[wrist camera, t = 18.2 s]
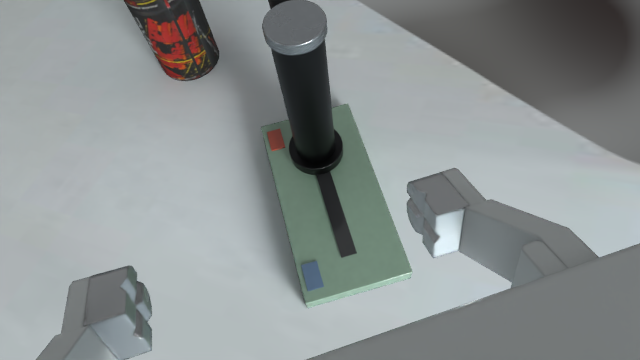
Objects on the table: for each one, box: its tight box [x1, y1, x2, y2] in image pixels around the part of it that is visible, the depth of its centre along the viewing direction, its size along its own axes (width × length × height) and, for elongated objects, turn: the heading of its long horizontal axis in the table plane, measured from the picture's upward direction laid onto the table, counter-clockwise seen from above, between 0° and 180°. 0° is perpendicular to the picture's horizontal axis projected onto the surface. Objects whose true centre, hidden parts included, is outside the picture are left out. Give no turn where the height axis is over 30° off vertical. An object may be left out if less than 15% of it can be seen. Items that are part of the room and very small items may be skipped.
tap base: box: [261, 104, 412, 308], centre depth 36 cm, size 8×16×2 cm, turn 15°
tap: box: [262, 0, 343, 175], centre depth 32 cm, size 4×9×14 cm, turn 15°
